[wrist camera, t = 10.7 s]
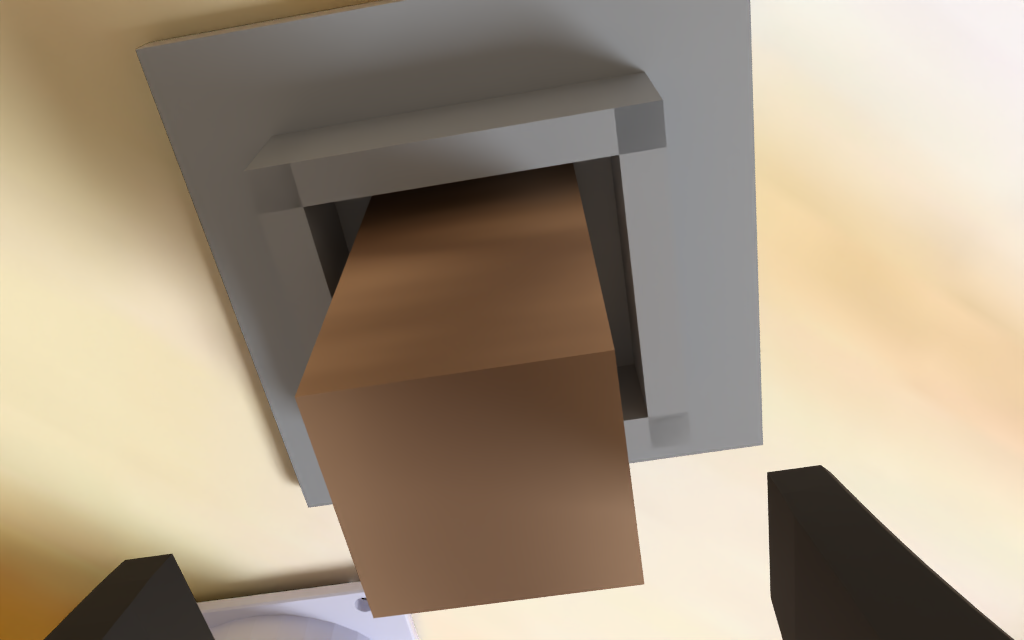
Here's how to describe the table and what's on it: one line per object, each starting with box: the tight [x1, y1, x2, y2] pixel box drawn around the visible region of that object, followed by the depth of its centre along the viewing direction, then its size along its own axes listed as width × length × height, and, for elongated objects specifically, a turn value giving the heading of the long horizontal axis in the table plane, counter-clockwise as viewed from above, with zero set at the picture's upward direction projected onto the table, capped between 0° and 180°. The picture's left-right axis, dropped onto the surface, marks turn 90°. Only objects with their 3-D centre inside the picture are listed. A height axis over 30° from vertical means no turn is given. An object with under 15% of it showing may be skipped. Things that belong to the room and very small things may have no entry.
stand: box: [136, 0, 763, 507], centre depth 17 cm, size 11×11×3 cm
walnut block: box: [295, 163, 644, 618], centre depth 14 cm, size 4×4×7 cm
